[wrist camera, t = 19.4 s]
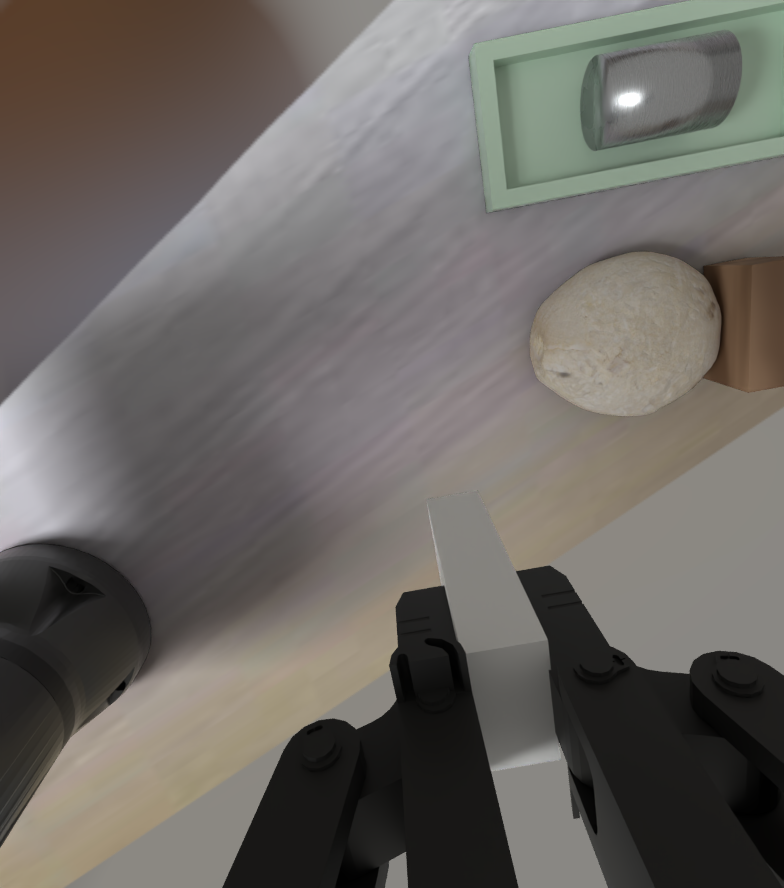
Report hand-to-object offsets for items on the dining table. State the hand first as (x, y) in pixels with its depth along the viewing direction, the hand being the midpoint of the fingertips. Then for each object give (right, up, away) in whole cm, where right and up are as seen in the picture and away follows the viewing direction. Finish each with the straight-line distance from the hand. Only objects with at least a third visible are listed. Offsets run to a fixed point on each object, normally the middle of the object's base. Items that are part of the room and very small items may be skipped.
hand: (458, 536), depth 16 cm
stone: (+14, +11, +23) cm, 29 cm away
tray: (+13, +24, +18) cm, 33 cm away
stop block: (+22, +12, +23) cm, 34 cm away
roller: (+13, +24, +18) cm, 33 cm away
